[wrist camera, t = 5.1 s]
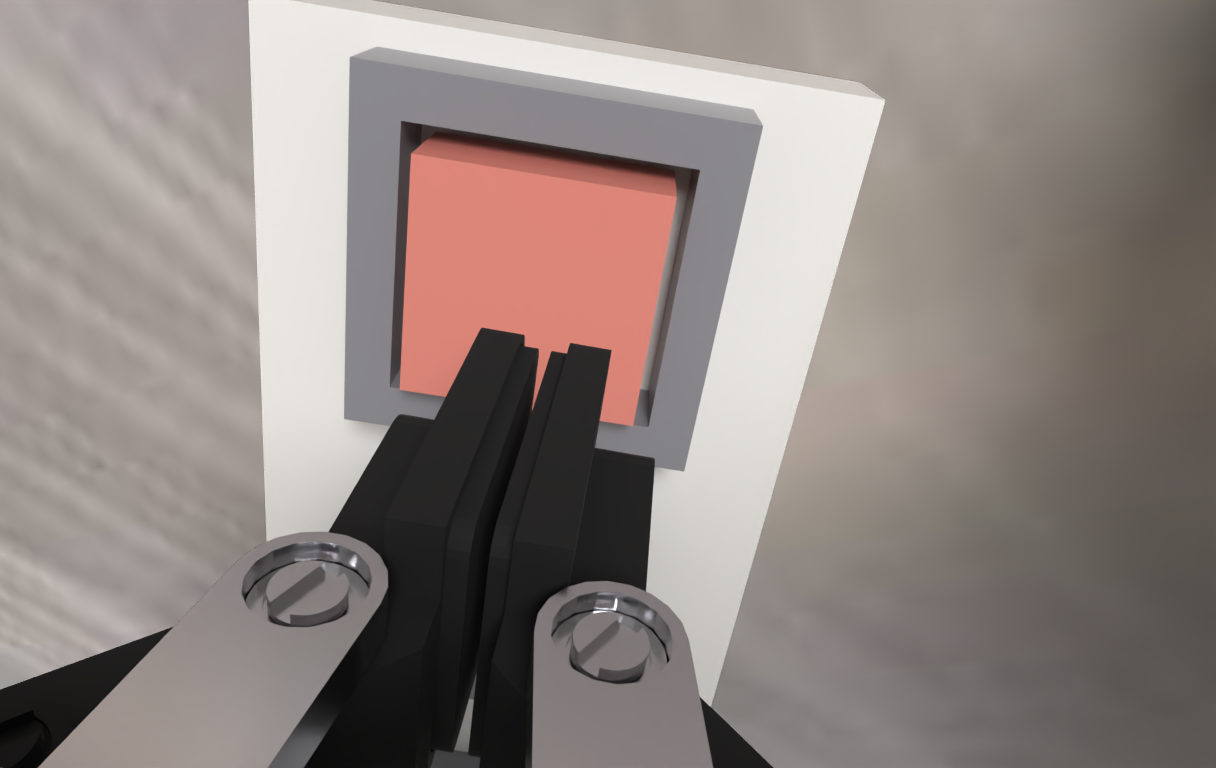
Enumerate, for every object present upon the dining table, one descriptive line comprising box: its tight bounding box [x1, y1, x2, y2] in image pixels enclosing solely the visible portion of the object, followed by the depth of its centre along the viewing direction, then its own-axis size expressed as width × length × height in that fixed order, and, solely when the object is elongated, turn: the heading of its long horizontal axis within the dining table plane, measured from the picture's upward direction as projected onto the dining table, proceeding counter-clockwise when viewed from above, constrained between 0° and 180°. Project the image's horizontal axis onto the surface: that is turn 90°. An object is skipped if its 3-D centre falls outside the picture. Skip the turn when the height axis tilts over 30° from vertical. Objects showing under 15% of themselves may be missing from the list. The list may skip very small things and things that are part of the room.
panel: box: [249, 0, 885, 768], centre depth 23 cm, size 24×13×4 cm, turn 171°
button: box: [400, 132, 677, 426], centre depth 18 cm, size 5×5×2 cm
